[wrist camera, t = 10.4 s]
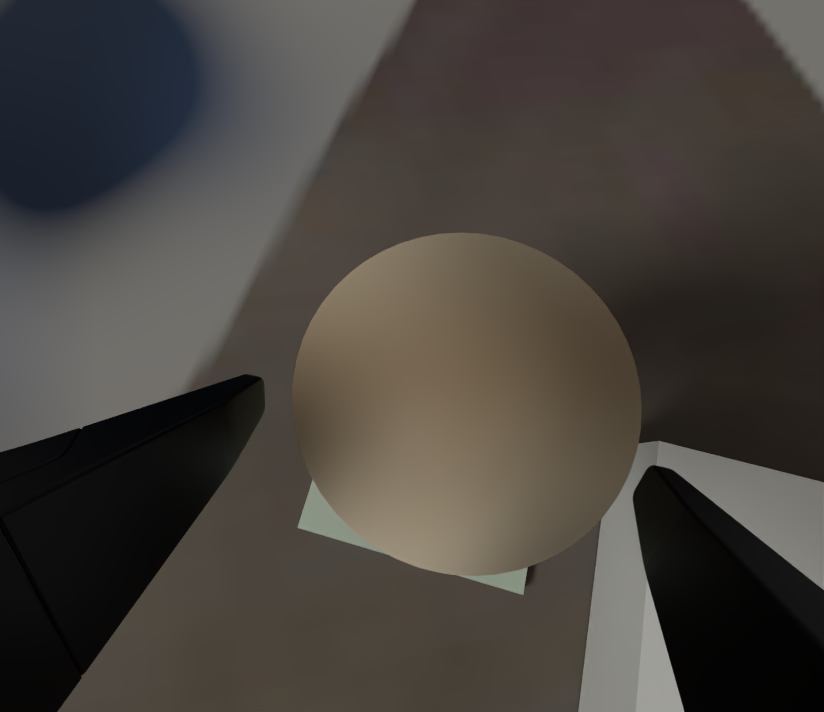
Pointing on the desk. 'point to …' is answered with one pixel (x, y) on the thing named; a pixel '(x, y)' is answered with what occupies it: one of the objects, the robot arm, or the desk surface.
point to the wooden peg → (467, 404)
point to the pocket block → (627, 583)
